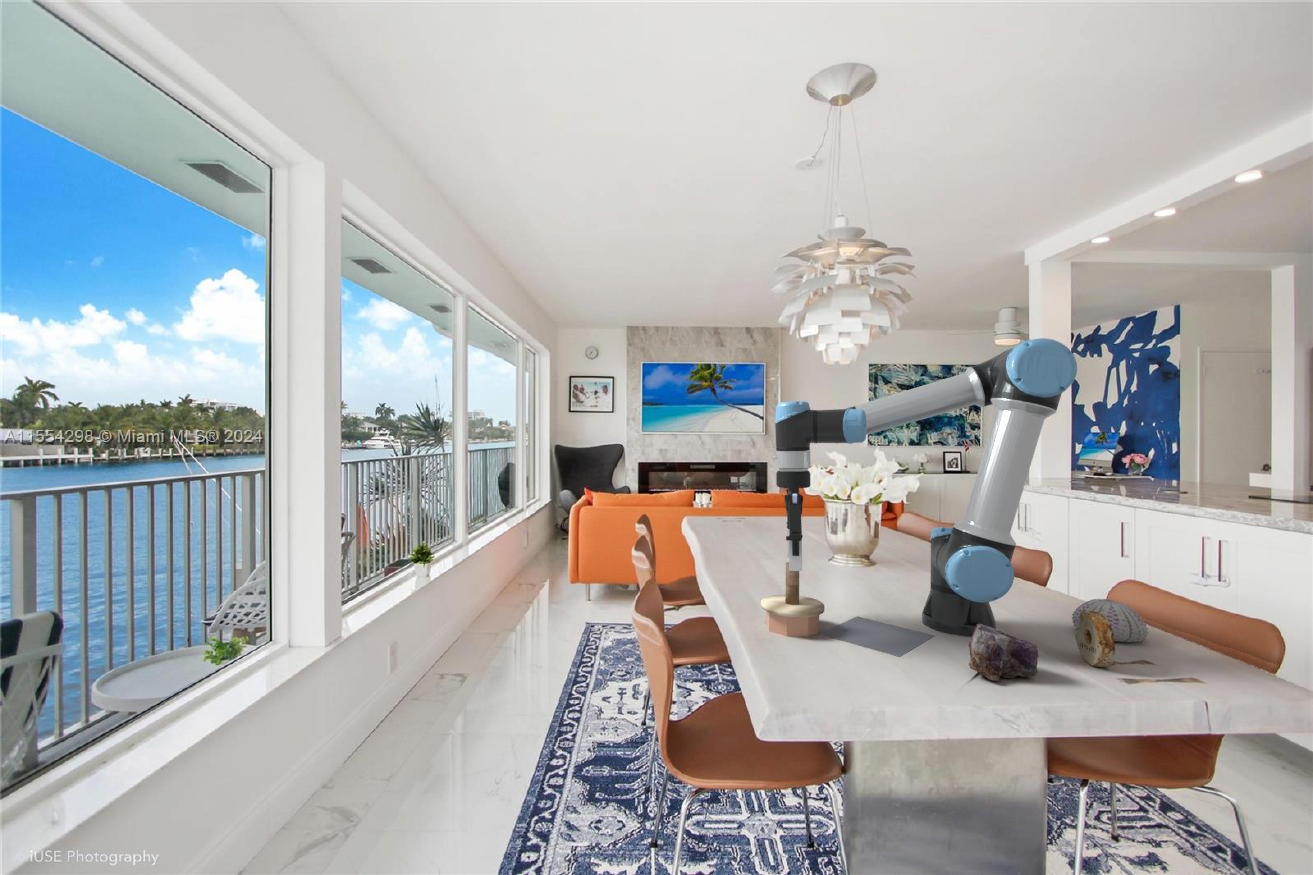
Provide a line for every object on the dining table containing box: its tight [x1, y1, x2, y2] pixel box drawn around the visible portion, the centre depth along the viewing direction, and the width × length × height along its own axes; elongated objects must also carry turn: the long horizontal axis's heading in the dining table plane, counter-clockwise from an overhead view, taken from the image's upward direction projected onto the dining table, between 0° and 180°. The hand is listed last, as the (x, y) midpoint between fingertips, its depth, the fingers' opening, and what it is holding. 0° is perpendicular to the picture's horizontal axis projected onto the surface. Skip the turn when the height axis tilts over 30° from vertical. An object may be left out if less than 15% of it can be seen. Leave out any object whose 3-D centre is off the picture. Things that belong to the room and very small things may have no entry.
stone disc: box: [1074, 611, 1116, 668], centre depth 111 cm, size 10×4×10 cm, turn 163°
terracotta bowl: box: [765, 611, 820, 638], centre depth 129 cm, size 11×11×5 cm
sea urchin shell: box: [1071, 598, 1149, 643], centre depth 127 cm, size 13×14×8 cm
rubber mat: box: [817, 616, 936, 658], centre depth 125 cm, size 18×18×1 cm
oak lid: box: [760, 561, 825, 617], centre depth 129 cm, size 14×14×10 cm
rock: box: [968, 624, 1039, 682], centre depth 106 cm, size 12×9×10 cm
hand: (794, 563), depth 129 cm, fingers open, 13 cm apart
